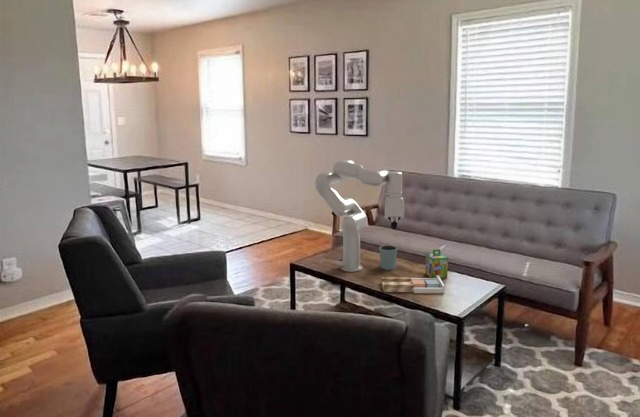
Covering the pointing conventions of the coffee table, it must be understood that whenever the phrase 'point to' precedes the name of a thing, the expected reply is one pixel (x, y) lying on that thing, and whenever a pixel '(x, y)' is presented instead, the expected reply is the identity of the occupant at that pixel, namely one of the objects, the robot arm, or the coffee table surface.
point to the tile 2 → (431, 284)
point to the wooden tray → (397, 284)
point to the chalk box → (436, 265)
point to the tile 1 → (418, 283)
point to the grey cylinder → (388, 257)
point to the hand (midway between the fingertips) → (393, 228)
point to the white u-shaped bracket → (430, 290)
